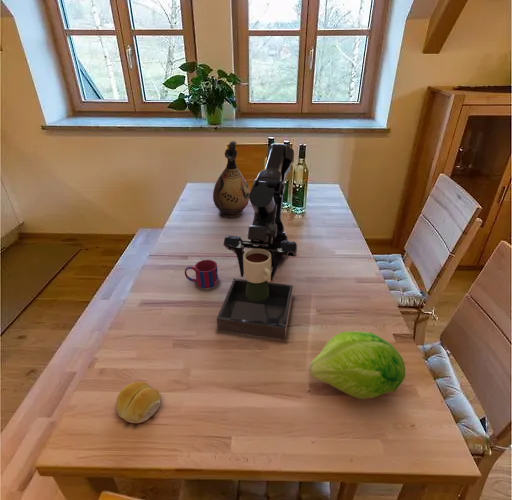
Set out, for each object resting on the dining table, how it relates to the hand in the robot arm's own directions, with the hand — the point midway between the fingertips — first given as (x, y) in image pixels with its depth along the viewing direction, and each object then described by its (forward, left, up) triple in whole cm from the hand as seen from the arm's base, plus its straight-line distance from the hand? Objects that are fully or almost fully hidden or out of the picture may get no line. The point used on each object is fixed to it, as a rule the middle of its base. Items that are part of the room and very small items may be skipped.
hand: (256, 278), depth 90 cm
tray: (-1, -1, -13) cm, 13 cm away
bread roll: (+36, -7, -13) cm, 39 cm away
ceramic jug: (-51, -45, -13) cm, 69 cm away
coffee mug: (-1, -1, -7) cm, 7 cm away
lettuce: (+7, +29, -13) cm, 33 cm away
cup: (-4, -23, -13) cm, 26 cm away
